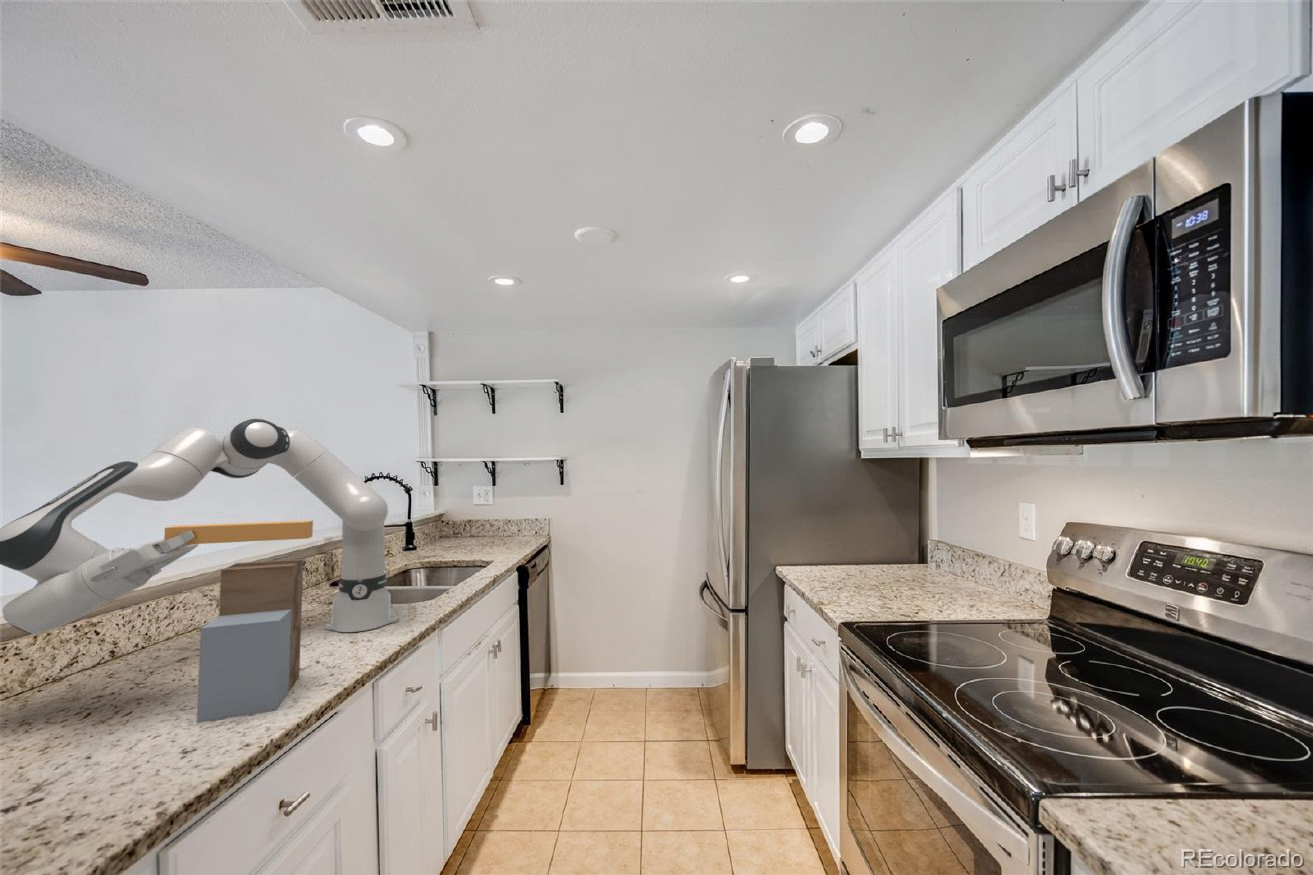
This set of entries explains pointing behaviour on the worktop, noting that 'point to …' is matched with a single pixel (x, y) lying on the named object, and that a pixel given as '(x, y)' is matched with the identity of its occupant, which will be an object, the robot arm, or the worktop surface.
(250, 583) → the walnut stand
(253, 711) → the slate block
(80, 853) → the worktop surface
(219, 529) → the orange block
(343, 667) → the worktop surface
